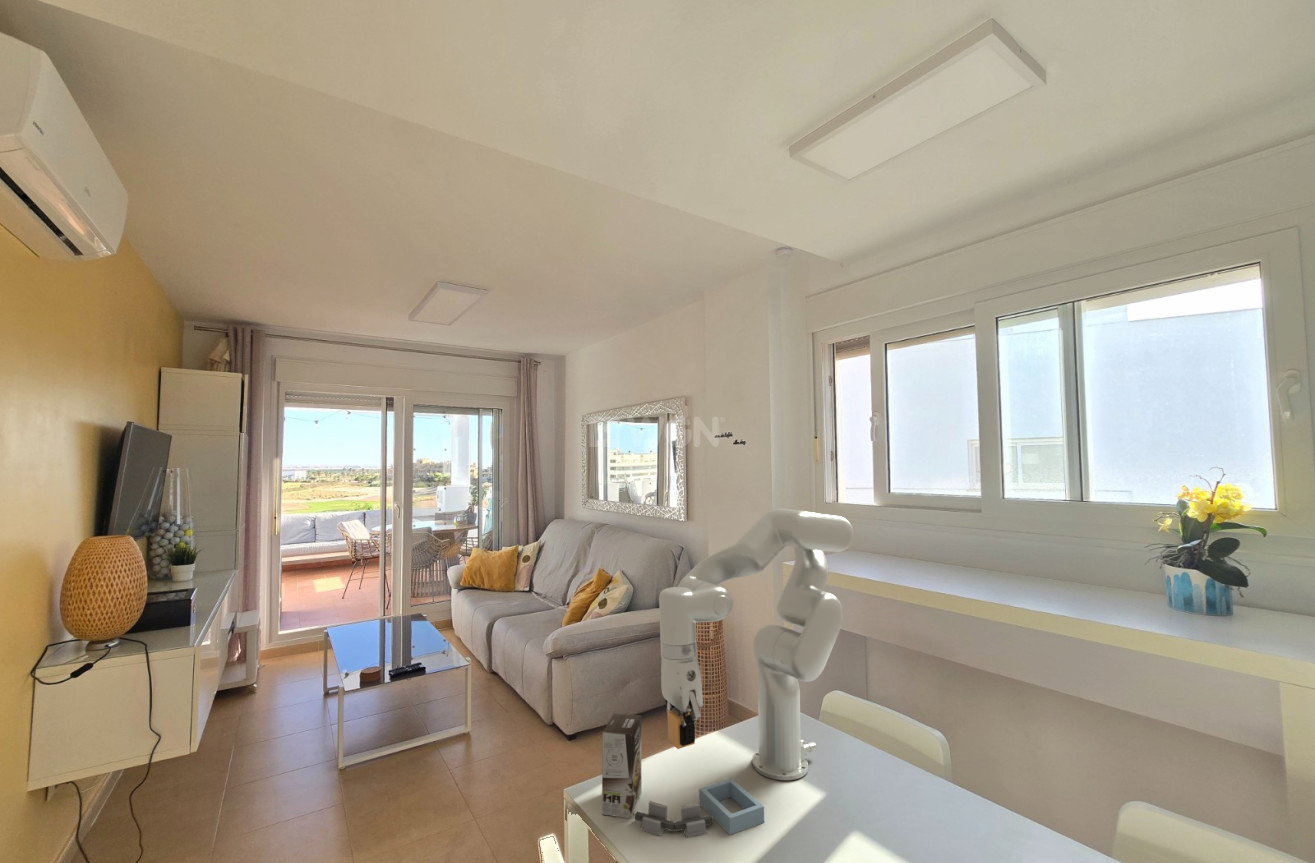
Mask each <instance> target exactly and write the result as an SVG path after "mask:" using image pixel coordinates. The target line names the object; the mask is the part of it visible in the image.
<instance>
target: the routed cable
mask: <svg viewBox="0 0 1315 863" xmlns="http://www.w3.org/2000/svg"><path fill="white" fill-rule="evenodd" d="M643 817H648V818H651V819H654V820H658V821H661V827H662V828H665V829H666V830H669V831H673V832H674V831H675V832H677V831H683V829H686V823H689V822H694V821H699V820H704V821H705V826H707V825H713V823H714V818H713V817H712V816H711V815H710V814H709V815H704V816H700V817H698V818H693V819H688V820H683V821H681V820H678V821H672V820H668V819H667V820H666V819H662V818H659V817H655V816H652V815H649V813H644V812H641V811H635V813H634V821H635V820H636V821H639V822H642V819H643ZM665 829H664V830H665Z"/></svg>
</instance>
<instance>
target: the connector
mask: <svg viewBox="0 0 1315 863" xmlns="http://www.w3.org/2000/svg"><path fill="white" fill-rule="evenodd" d="M666 713H667V740H668V742H669V743H670V744H671V745H673V747H675V748H676V749H677V750H680V749H682V748H686V747H688V746H692V745H695V742H694V743H691V744H688V745H685V746H682V745H680V725H682V724H681V717H680V710H679V709H677V708H676V707H673V708H672V710H670V711H667V710H666ZM687 715H690V712H687V713H685V717H687Z"/></svg>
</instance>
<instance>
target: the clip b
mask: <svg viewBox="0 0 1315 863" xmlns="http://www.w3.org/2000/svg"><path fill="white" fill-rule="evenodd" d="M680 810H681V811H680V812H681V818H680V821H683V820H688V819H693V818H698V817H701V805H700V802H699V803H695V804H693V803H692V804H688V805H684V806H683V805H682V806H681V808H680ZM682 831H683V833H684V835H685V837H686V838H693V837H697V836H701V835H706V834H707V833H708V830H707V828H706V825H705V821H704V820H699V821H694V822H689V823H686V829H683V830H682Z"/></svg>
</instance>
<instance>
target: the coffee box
mask: <svg viewBox="0 0 1315 863" xmlns="http://www.w3.org/2000/svg"><path fill="white" fill-rule="evenodd" d="M601 746H602V749H601V750H602V752H601V754H602V757H601V758H602V763H601V769H602V770H601V777H602V778H601V784H602V785H601V786H602V787H601V814H602V815H604V816H605V815H606V816H613V817H621V818H626V819H631V818H632V816H633V815H634V812H635V809H636V807H637V804H638V802H639V799H640V798H641V797H640V796H641V794H642V715H640V714H628V713H626V714H625V713H624V714H619V713H613V715H612V716H611V718H610V719H609V721H608V723H607V724H606V725H605V728H604V729H603V730H602V745H601Z"/></svg>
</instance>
